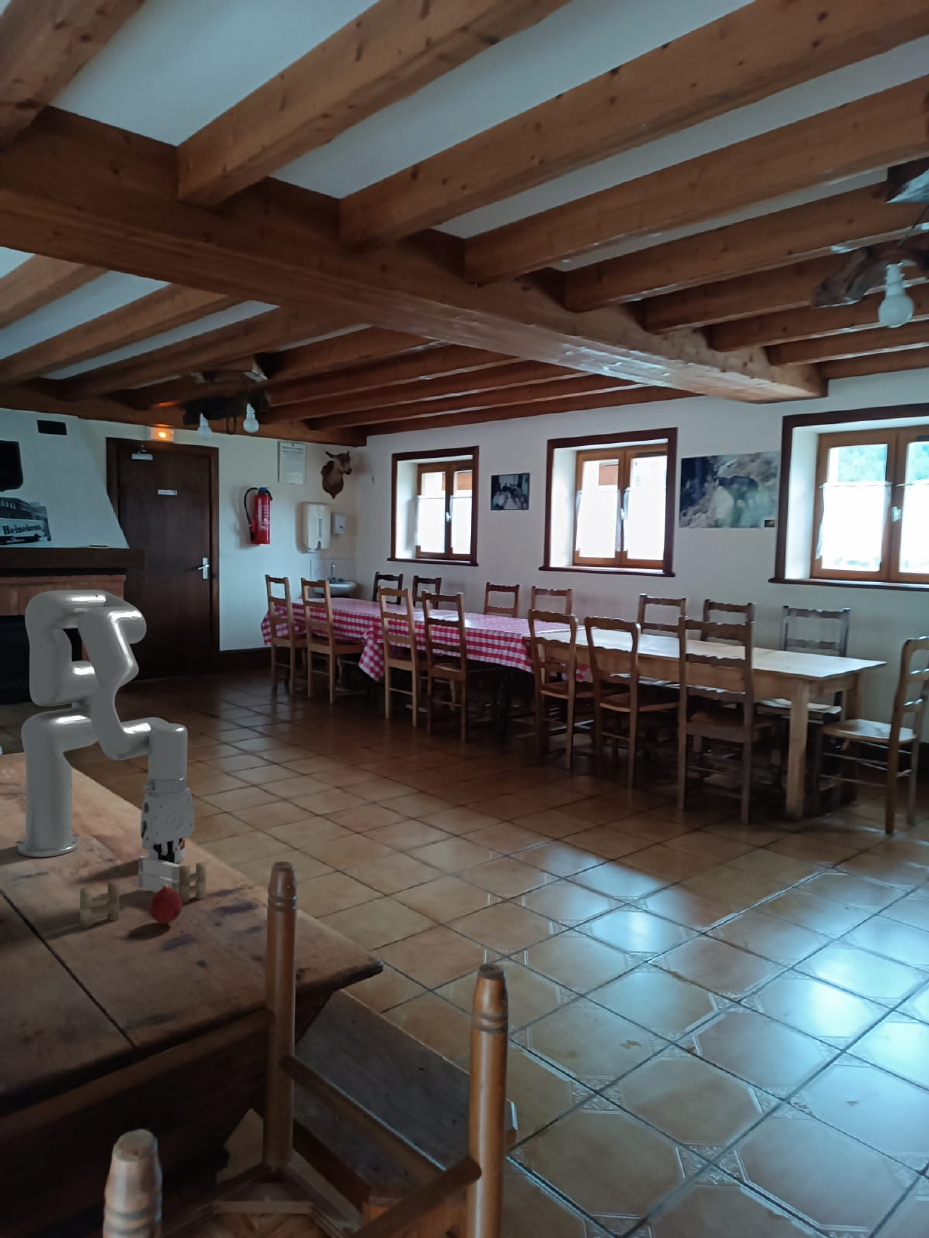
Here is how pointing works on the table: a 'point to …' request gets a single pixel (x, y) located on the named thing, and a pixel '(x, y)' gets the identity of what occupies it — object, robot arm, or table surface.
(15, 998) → the table surface
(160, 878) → the gate
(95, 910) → the fence
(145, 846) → the robot arm
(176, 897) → the onion
